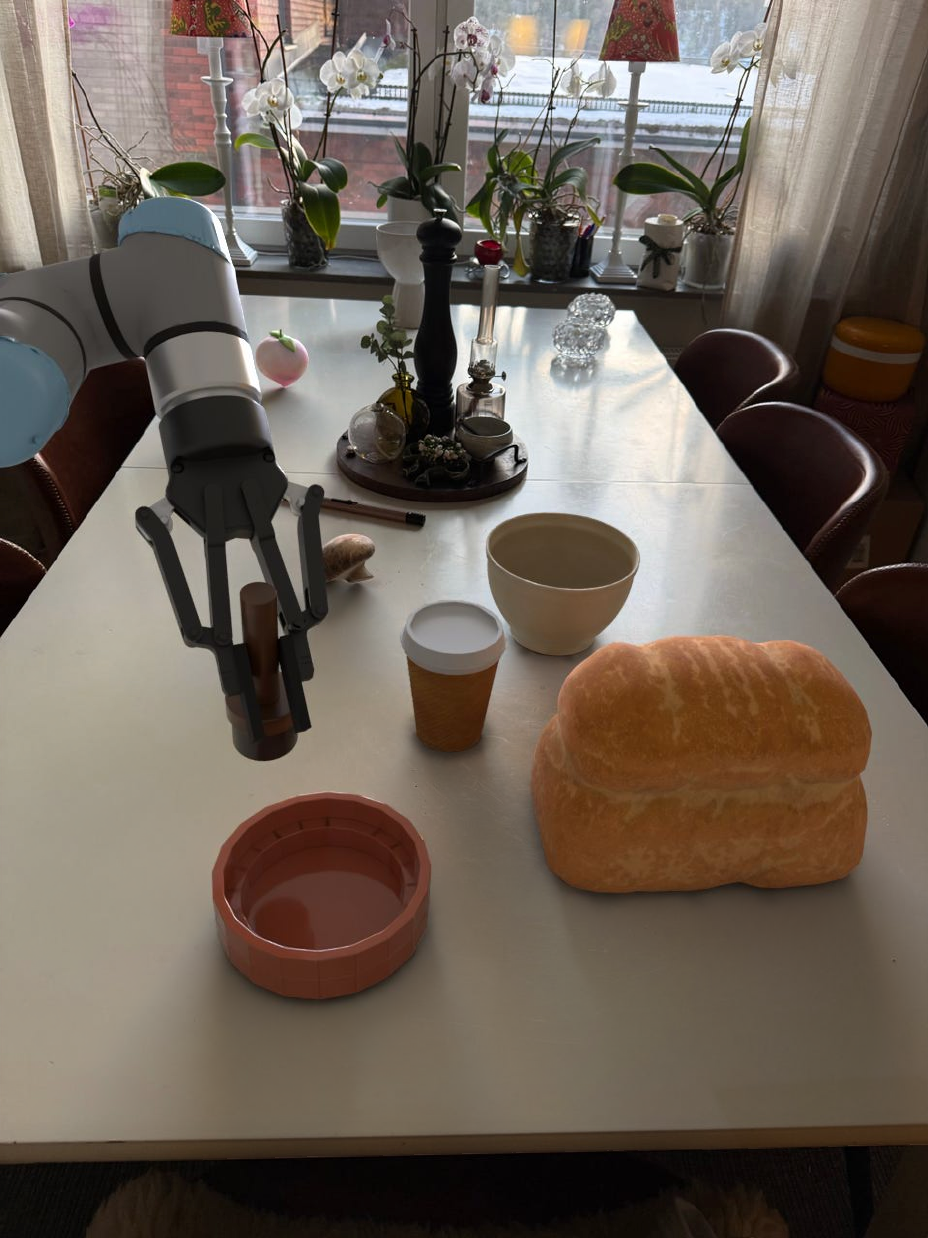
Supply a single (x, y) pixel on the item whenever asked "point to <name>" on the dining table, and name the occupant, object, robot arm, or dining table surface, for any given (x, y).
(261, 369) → the decorative fruit
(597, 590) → the planter bowl
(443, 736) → the disposable coffee cup
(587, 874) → the bread
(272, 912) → the bowl
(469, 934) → the dining table surface
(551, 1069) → the dining table surface
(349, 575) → the mushroom
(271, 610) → the brush
